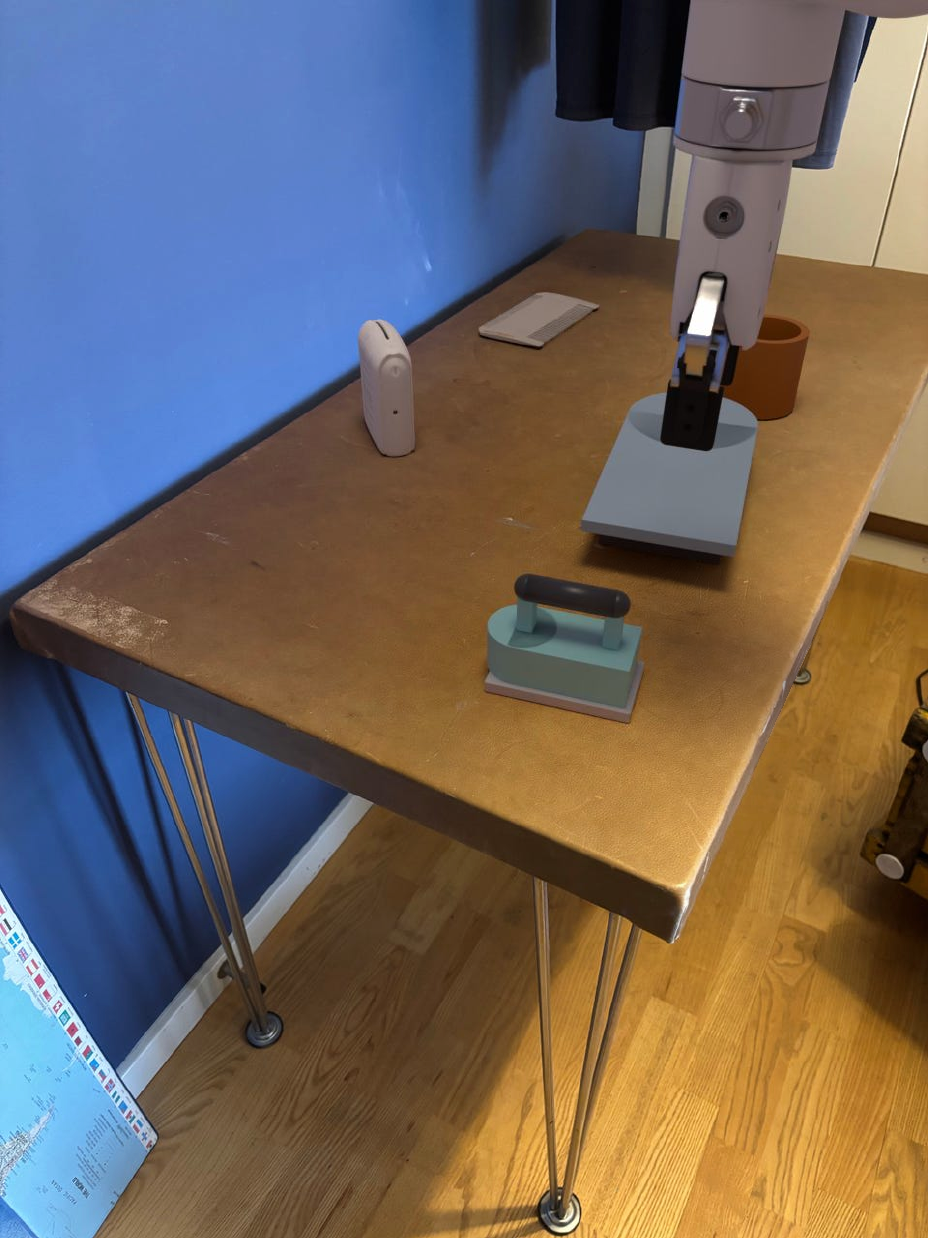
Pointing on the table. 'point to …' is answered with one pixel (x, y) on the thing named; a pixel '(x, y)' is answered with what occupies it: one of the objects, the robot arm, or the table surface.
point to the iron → (566, 648)
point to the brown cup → (770, 368)
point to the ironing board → (674, 486)
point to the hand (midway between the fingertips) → (698, 411)
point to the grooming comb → (537, 319)
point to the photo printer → (387, 387)
